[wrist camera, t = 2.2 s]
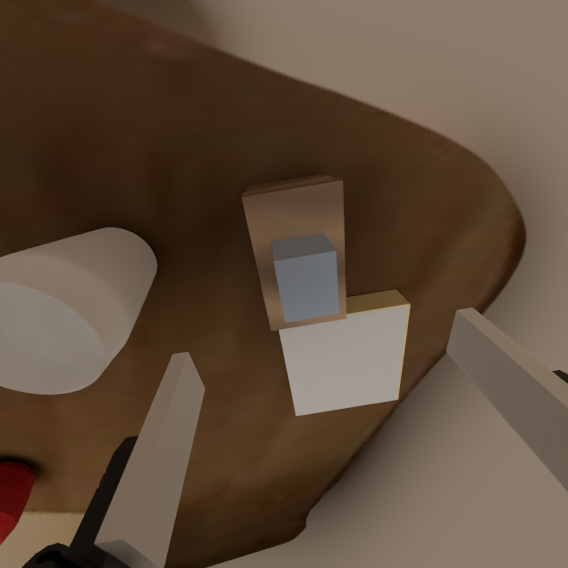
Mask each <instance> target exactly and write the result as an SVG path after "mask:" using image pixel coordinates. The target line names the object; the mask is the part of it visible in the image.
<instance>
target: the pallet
mask: <svg viewBox="0 0 568 568" xmlns="http://www.w3.org/2000/svg"><path fill="white" fill-rule="evenodd" d="M242 202H243V206H244V211H245V215H246V220H247V224H248V229H249V233H250V238H251V242H252V247H253V251H254V256H255V260H256V265H257V269H258V274H259V278H260V283H261V287H262V292H263V296H264V301H265V305H266V310H267V314H268V319H269V323H270V328H271V331H275V330H281V329H287V328H294V327H300V326H306V325H312V324H318V323H324V322H330V321H336V320H342V319H347V318H346V278H345V238H344V199H343V180H342V179H340V178H338V177H336V178H332V177H330V176H329V175H327V174H325V173H322V174H316V175H310V176H304V177H298V178H292V179H286V180H280V181H274V182H268V183H262V184H256V185H250V186H246V190H245V193H243V194H242ZM321 233H325V235H326V236H327V238H328V239H329V241H330V242H331V244H332V245H333V247H334V248H335V250H336V258H337V279H338V300H339V314H336V315H330V316H324V317H318V318H312V319H306V320H300V321H294V322H288V323H285V320H284V315H283V310H282V304H281V299H280V294H279V288H278V283H277V278H276V272H275V267H274V262H273V251H272V242H274V241H280V240H286V239H292V238H297V237H303V236H309V235H315V234H321Z"/></svg>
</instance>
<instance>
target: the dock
mask: <svg viewBox="0 0 568 568" xmlns="http://www.w3.org/2000/svg"><path fill="white" fill-rule="evenodd" d="M409 312H410V304H409V303H408V302H407V300H406V299H405V298H404V297H403V296H402V295H401V294H400V293H399V292H398V290H396V289H395V290H389V291H382V292H376V293H370V294H364V295H358V296H352V297H346V318H347V319H342V320H336V321H330V322H324V323H318V324H312V325H306V326H300V327H294V328H287V329H281V330H279V333H280V338H281V343H282V348H283V353H284V358H285V363H286V368H287V373H288V378H289V383H290V388H291V393H292V398H293V403H294V408H295V413H296V416H299V415H306V414H312V413H318V412H324V411H330V410H336V409H343V408H349V407H355V406H361V405H367V404H373V403H380V402H386V401H392V400H398V395H399V388H400V380H401V373H402V365H403V357H404V350H405V342H406V335H407V327H408V319H409Z"/></svg>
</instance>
